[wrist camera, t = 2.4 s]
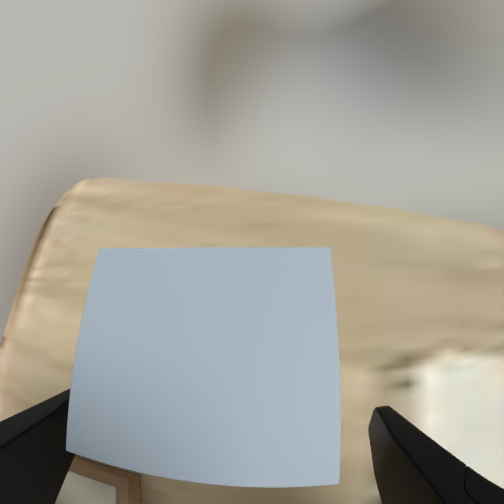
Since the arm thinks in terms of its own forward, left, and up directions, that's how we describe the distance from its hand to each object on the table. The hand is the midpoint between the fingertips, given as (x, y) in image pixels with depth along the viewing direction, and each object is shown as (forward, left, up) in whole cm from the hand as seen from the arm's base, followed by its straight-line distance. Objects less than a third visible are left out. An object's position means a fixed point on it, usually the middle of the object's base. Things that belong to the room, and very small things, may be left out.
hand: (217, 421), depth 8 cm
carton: (+1, 0, -9) cm, 9 cm away
